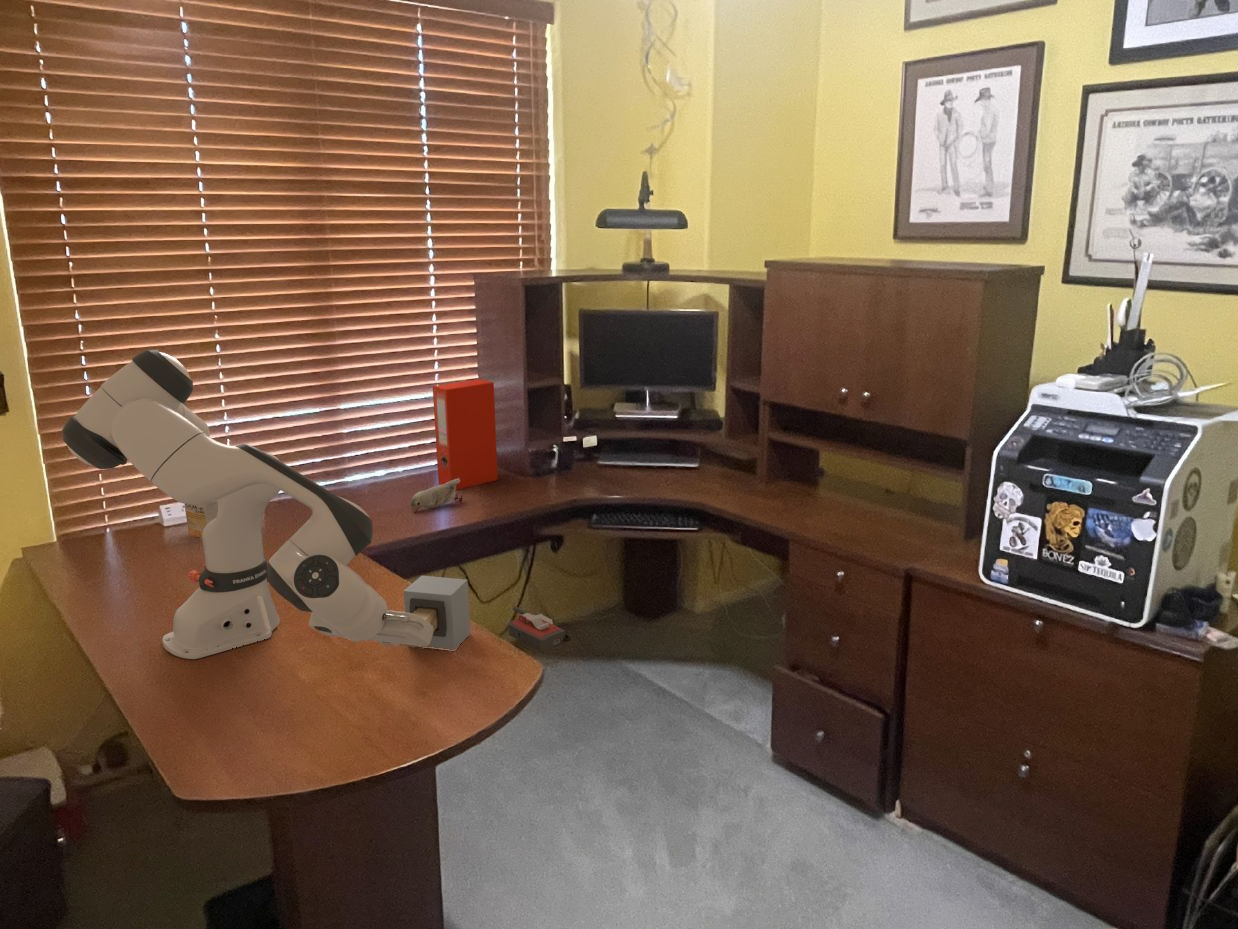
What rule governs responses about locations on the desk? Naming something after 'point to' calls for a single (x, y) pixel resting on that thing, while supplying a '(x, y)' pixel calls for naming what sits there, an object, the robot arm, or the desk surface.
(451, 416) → the file binder
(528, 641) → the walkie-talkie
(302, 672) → the desk surface
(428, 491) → the decorative bird
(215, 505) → the supplement box
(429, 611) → the peg
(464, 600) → the housing
